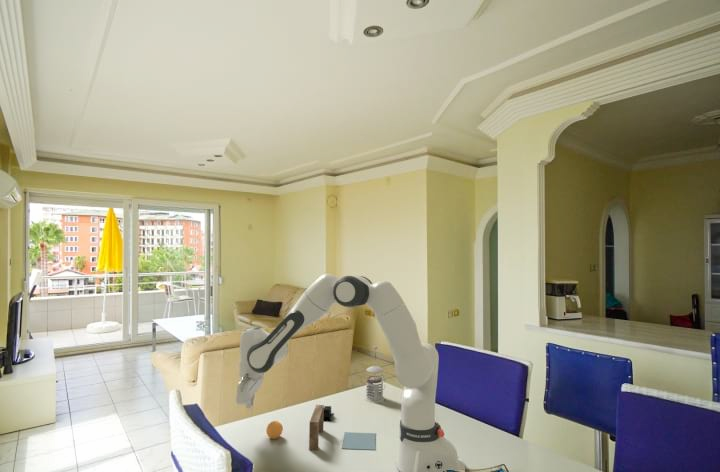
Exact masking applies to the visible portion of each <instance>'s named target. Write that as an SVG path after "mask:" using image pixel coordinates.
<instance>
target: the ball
mask: <svg viewBox="0 0 720 472" xmlns="http://www.w3.org/2000/svg"><path fill="white" fill-rule="evenodd" d="M265 431H266V435H267V437H269V438H270V439H278V438H279V437H281V435H282V434H283V431H284V430H283V425H282V423H281V422H280V421H279V420H272V421H271V422H269V423H268V424H267V427H266V430H265Z"/></svg>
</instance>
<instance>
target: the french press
mask: <svg viewBox="0 0 720 472" xmlns="http://www.w3.org/2000/svg"><path fill="white" fill-rule="evenodd" d="M372 348H373V349H374V350H377V349H378V346H376V345H374V346H373V347H372ZM365 370H366V372H368V373H370V374H381V373H382V372H383V371H384V369H383V368H382V367H380V366H378V365H372V366H369V367H367V368H366V369H365ZM383 379H384V380H383ZM384 381H386V379H385V377H384V375H383V374H381V375H370V376H367V380H366V391H365V392H366V394H365V397H364V398H363V399H364V401H366V403H367V402H368V403H371V404H376V403H377V404H378V403H382V402H384V401H385V397H384V396H383V395H384V394H383V393H384V392H383V391H384V390H385V388H386V386H384Z"/></svg>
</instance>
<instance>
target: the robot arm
mask: <svg viewBox="0 0 720 472" xmlns="http://www.w3.org/2000/svg"><path fill="white" fill-rule="evenodd" d="M336 303H337V304H339V305H340V306H342V307H346V308H353V307H355V308H356V307H360V306H364V305H366V306H368V307H369V308H370V309H371V310H372V312H373V314H374V316H375V318H376V320H377V322H378V324H379V326H380V328H381V330H382V332H383V334H384V336H385V338H386V340H387V343H388V345H389V350H390V353H391V356H392V360H393V363H394V367H395V377H396V379H397V381H398V382H399V383H400V385H402V386H403V391H402V395H401V405H400V406H401V408H400V409H401V411H400V412H401V415H400V417H401V419H400V421H399V440H400V441H399V447H398V452H397V453H398V454H397V458H396V460H395V467H396V469H397V470H398V471H399V472H443V471H446V470H459V469H466V466H465V463H464V461H463V460H462V459H461V458H460V456H458V452H457V449H456V446H455V445H454V444H453V443H452V442H451V441H450V440H449V439H448V438H446V437H445V432H444V430H443V429H442V427H441V425H440V424H439V422H438V421H436V395H437V386H438V385H437V384H438V378H439V377H438V374H439V361H440V360H439V359H440V358H439V351H438V349H436V347H435V346H434V345H433V344H431V343H429V342H421V339H420V336H419V333H418V327H417V324H416V322H415V320H414V318H413V316H412V314H411V312H410V310H409V309H408V307H407V305H406V303H405V302H404V300H403V298H402V296H401V295H400V293H399V292H398V291H397V289H396V288H395V287H394V285H393V284H392V283H391V282H390V281H388V280H380V281H377V282H374V283H373V282H372V281H371V280H370V279H369V278H367V277H366V276H363V275H356V274H354V275H353V274H352V275H345V276H342V277H340V278H338V277H337V276H336V275H334V274H332V273H325V274H322V275H320V276H319V277H318V278H317V279H316V280H314V281H313V282H312V283H311V284H310V285H309V286H308V288H306V290H305V291H304V292H303V293H302V295H300V296H299V298H298V300H297V301H296V302H295V304H294V305H293V306H292V307H291V309H290V311H288V313H287V315H286V316H285V317H284V318H283V320H281V321H280V323H279V324H278V325H277V326H276V327H275V328H274V329H273V330H272V331H271V332H267V330H265V329H264V328H263V327H262V326H252V327H247V328H245V329H243V331H242V332H241V335H240V340H239V355H240V358H239V361H238V377H239V378H241V379H240V380H239V381H238V383H237V388H236V396H235V398H236V399H235V402H236V404H237V405H240V406H241V405H245V408H246V409H251V408H252V407H253V406H254V399H255V396H256V393H257V392H258V391H259V390H260V388H261V387H262V386H263V384H264V373H267V372H268V371H270V369H272V367H274V366H276V365H277V364H279V363H280V362H282V361H284V359H285V358H286V357H287V355H288V353H289V346H288V342H289V341H290V340H291V338H293V336H294V335H295V334H298V332H300V331H301V330H303V329H306V328H308V327H309V326H311V325H313V324H314V323H316V322H317V321H318V320H320V319H321V318H322V317H324V315H326V313H327V312H328V311H329V310H330V309H331V307H333V305H334V304H336Z"/></svg>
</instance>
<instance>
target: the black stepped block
mask: <svg viewBox="0 0 720 472" xmlns="http://www.w3.org/2000/svg"><path fill="white" fill-rule="evenodd" d="M334 415H335V413H334V412H332V406H331V405H329V406H327V405H324V422H329V423H332V421H333V419H334Z"/></svg>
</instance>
